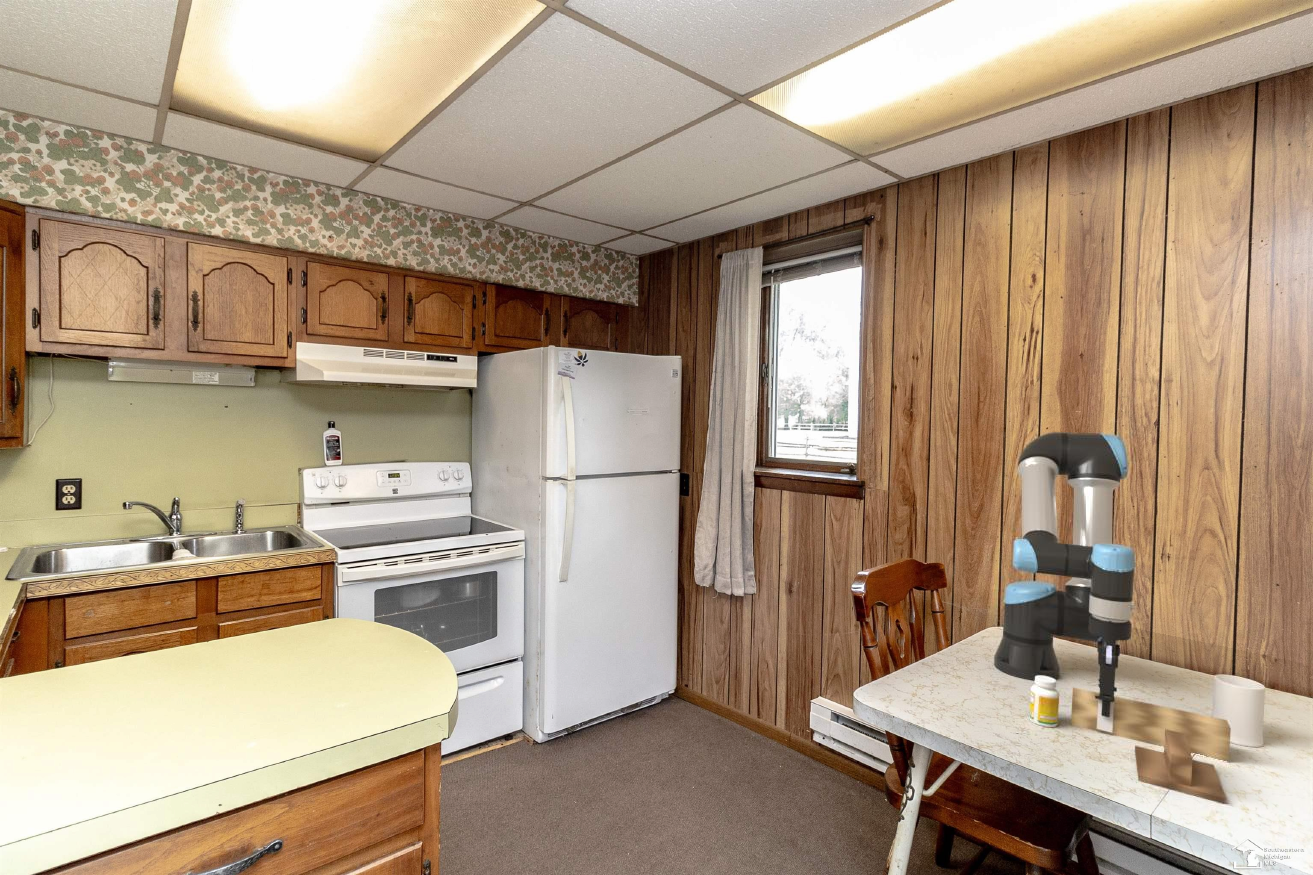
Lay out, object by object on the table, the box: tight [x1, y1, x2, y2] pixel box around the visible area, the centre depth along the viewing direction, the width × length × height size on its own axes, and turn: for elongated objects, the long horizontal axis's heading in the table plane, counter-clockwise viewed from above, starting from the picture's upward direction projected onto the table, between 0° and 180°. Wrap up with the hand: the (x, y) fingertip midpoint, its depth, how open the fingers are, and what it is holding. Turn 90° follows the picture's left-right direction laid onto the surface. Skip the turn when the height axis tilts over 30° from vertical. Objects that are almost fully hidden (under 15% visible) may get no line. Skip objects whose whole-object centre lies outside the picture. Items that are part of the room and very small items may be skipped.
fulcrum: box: [1134, 729, 1226, 805], centre depth 122 cm, size 12×14×6 cm
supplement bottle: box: [1028, 675, 1060, 728], centre depth 142 cm, size 5×5×10 cm
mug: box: [1211, 674, 1266, 748], centre depth 140 cm, size 12×8×12 cm
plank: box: [1070, 687, 1231, 763], centre depth 136 cm, size 26×4×7 cm, turn 57°
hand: (1104, 725), depth 140 cm, fingers open, 5 cm apart
